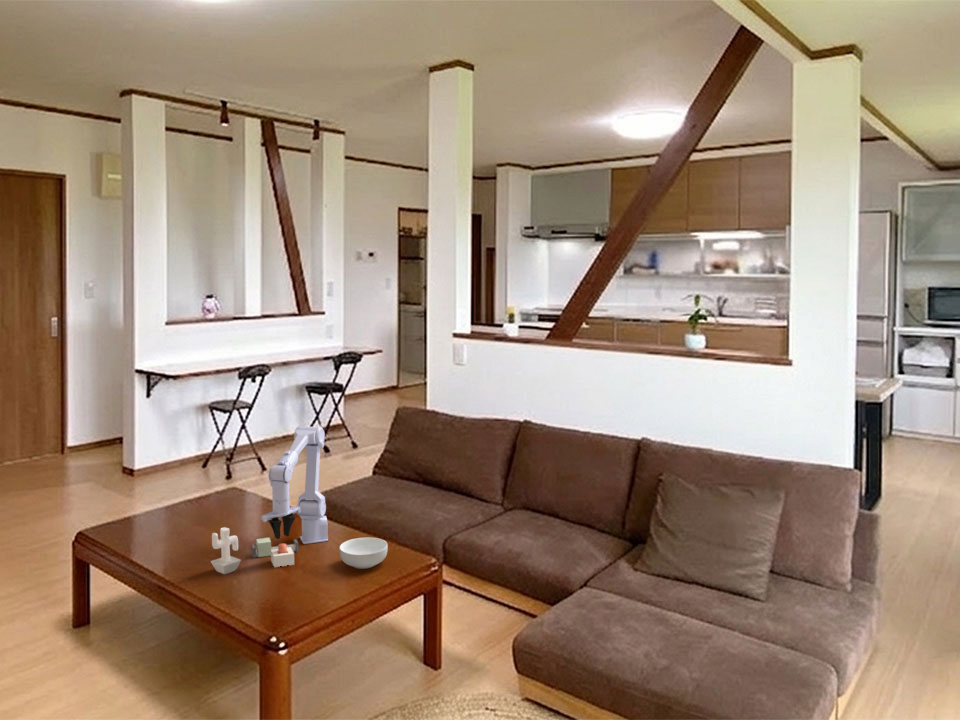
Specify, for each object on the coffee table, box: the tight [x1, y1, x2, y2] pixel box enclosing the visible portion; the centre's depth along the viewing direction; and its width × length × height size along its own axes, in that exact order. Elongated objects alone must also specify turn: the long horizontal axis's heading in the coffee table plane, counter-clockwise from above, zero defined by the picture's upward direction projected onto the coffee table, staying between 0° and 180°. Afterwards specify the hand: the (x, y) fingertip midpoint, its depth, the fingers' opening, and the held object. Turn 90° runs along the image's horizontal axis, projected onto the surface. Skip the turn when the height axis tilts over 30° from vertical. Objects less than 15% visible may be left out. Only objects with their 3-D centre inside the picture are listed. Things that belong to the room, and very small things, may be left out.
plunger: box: [277, 543, 287, 554], centre depth 273 cm, size 3×3×4 cm
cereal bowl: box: [339, 536, 389, 570], centre depth 272 cm, size 17×17×7 cm
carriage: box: [255, 537, 272, 558], centre depth 281 cm, size 5×5×5 cm
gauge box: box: [270, 547, 295, 568], centre depth 274 cm, size 7×7×4 cm
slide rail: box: [251, 538, 299, 559], centre depth 283 cm, size 16×4×4 cm, turn 113°
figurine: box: [210, 526, 242, 575], centre depth 265 cm, size 7×9×15 cm
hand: (281, 536), depth 273 cm, fingers open, 3 cm apart
